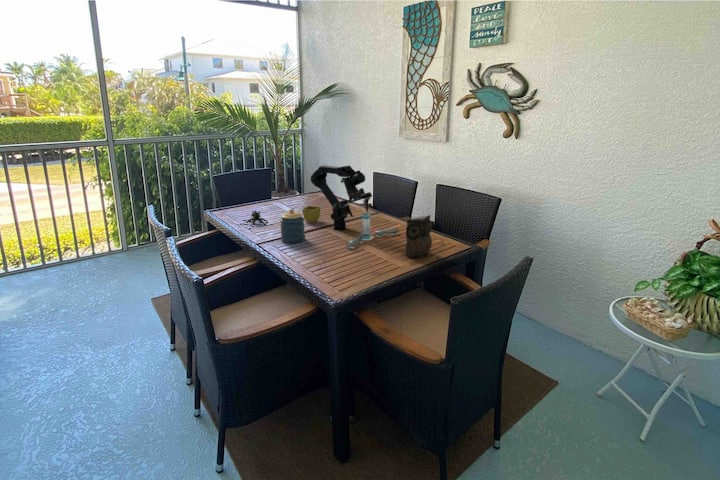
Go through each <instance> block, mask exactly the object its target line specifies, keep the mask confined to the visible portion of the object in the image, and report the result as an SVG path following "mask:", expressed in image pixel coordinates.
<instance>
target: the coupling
mask: <svg viewBox="0 0 720 480" xmlns="http://www.w3.org/2000/svg"><path fill="white" fill-rule="evenodd" d="M360 217H361V235H362V236H363V239H370V238H371V236H372V235H371V217H372V214H371V213H361V215H360Z"/></svg>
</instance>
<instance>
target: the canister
mask: <svg viewBox="0 0 720 480" xmlns="http://www.w3.org/2000/svg"><path fill="white" fill-rule="evenodd" d="M280 217H281V218H280V219H279V222H280V225H279V227H280V239H281V242H282V241H283V242H282V243H284V242H285V243H284V244H287V243H296V244H300V243H304V241H305V240H306V233H305V232H306V231H305V226H306V225H305V223H304V221H305V219H304V216H303V213H301V212H299V211H296V210H294V208H290V209H289V210H288V211H285V212H283V213H282V214H281V215H280Z"/></svg>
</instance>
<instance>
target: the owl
mask: <svg viewBox="0 0 720 480" xmlns="http://www.w3.org/2000/svg"><path fill="white" fill-rule="evenodd" d="M432 226H433V225H432V221H431V215H424V216H416V217H411V218H408V219H407V220H406V228H405V236H406V237H405V238H406V239H405V240H406V243H405V255H406V258H407V259H410V260H411V259H412V260H417V259H423V258H427V257H428V255H429V254H430V251H431V248H432V244H433V241H432V237H431V235H430V234H431V232H432V229H433V227H432Z"/></svg>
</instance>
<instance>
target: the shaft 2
mask: <svg viewBox="0 0 720 480" xmlns="http://www.w3.org/2000/svg"><path fill="white" fill-rule="evenodd" d="M373 233H374V236H376V237H377V238H383V235H388V234H390V235H392V236H397V235H398V233H399V228H397V227H396V228H391V229H383V230H375V231H374V232H373Z"/></svg>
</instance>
